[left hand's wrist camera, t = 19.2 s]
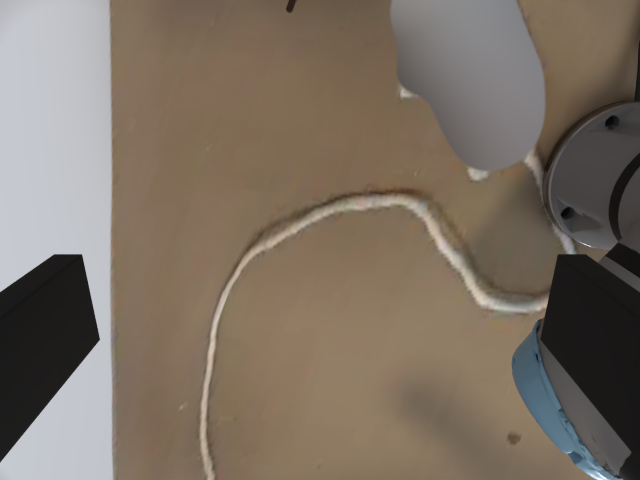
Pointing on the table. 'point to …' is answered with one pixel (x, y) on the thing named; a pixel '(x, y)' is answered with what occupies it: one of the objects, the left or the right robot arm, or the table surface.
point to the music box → (290, 5)
